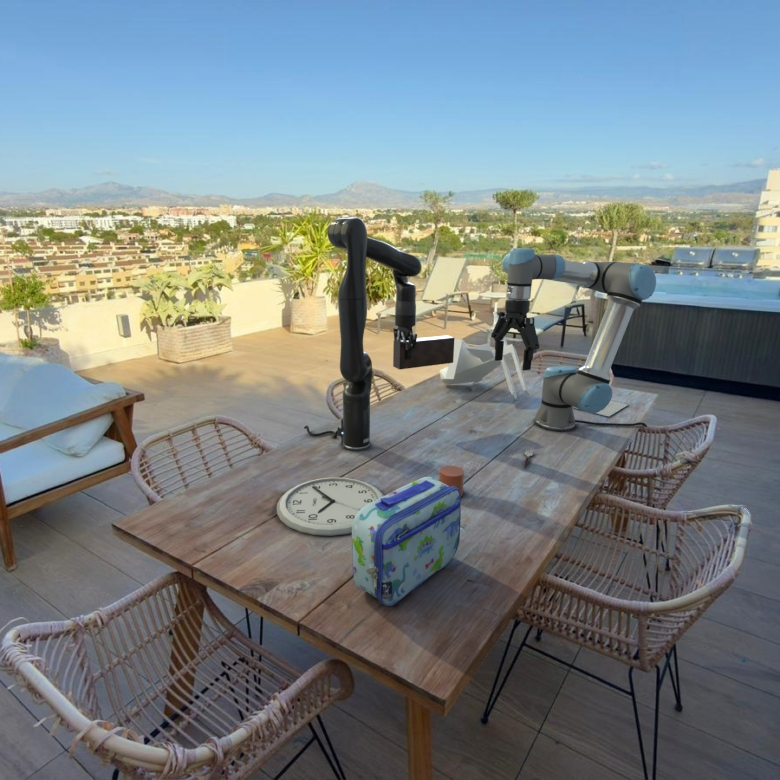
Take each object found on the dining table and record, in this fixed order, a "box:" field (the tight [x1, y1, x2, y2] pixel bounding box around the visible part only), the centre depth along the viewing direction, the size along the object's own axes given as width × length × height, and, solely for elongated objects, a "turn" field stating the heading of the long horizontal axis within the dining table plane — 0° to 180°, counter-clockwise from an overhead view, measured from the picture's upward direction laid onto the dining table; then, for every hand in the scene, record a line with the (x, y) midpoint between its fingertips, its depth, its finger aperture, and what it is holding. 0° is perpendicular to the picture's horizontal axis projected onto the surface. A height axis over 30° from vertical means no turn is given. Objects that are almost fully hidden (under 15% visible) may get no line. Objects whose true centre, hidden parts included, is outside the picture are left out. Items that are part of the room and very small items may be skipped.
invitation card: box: [573, 400, 629, 418], centre depth 226 cm, size 21×1×15 cm
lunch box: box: [351, 476, 462, 607], centre depth 111 cm, size 26×11×21 cm, turn 135°
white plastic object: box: [438, 310, 531, 400], centre depth 245 cm, size 37×45×31 cm
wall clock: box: [276, 476, 385, 537], centre depth 142 cm, size 30×2×30 cm
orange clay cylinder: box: [438, 465, 465, 498], centre depth 150 cm, size 7×7×7 cm
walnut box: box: [392, 334, 455, 370], centre depth 199 cm, size 24×5×10 cm, turn 118°
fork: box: [524, 445, 535, 469], centre depth 172 cm, size 3×16×2 cm, turn 160°
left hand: (404, 357), depth 195 cm, fingers closed on walnut box, 5 cm apart
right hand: (512, 365), depth 170 cm, fingers open, 13 cm apart
